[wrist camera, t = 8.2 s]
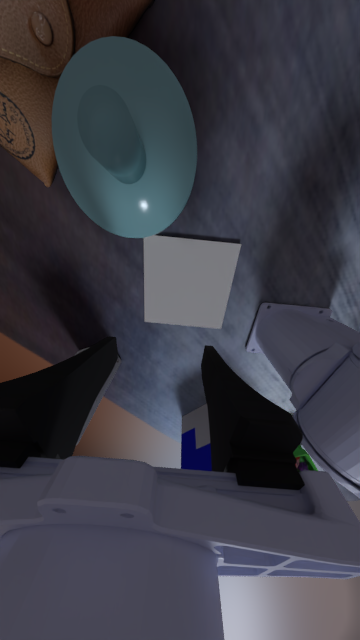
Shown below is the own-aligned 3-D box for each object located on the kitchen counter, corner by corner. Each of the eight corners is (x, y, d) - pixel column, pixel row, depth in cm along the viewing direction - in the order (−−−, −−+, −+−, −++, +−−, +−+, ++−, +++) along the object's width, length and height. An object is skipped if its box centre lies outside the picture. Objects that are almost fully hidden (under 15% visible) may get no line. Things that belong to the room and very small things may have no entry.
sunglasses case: (51, 196, 16) (-67, 125, 10) (25, 156, 18) (-92, 72, 11) (175, -29, 11) (80, -515, 4) (123, -62, 12) (-5, -469, 6)
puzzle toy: (181, 416, 32) (180, 482, 23) (221, 395, 29) (237, 462, 20) (211, 437, 36) (220, 502, 27) (249, 420, 32) (274, 487, 23)
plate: (240, 244, 18) (241, 244, 17) (220, 327, 23) (220, 328, 22) (144, 234, 18) (143, 234, 17) (145, 320, 23) (144, 321, 22)
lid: (200, 48, 10) (210, -66, 6) (193, 238, 15) (196, 236, 11) (36, 52, 10) (-49, -57, 7) (81, 237, 15) (47, 236, 12)
